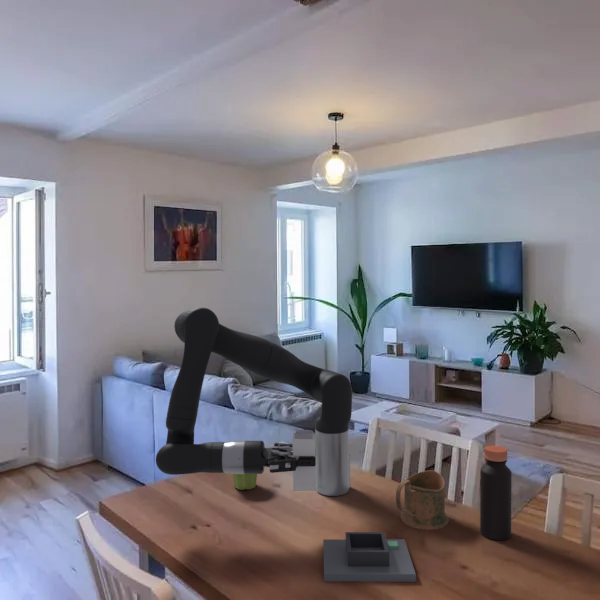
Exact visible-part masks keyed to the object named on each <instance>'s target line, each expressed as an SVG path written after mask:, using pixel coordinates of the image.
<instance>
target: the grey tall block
mask: <svg viewBox="0 0 600 600" xmlns="http://www.w3.org/2000/svg"><path fill="white" fill-rule="evenodd" d="M292 435H293V436H292V444H293V451H292V452H293V456H299V457H300V456H315V457H316V432H313V429H311V430H310V429H308V430H307V429H305V430H304V429H302V430H301V429H300V430H297V429H295V432H293V434H292ZM292 479H293V480H292V484H293V486H292V487H293V492H301V491H302V492H303V491H304V492H305V491H306V492H307V491H308V492H310V491H311V492H315V491H316V492H317V490H316V465H315V466H308V467H300V466H299V468H296V471H292Z"/></svg>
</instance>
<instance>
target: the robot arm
mask: <svg viewBox="0 0 600 600" xmlns="http://www.w3.org/2000/svg"><path fill="white" fill-rule="evenodd" d="M173 327H174V332H175V335H176V336H177V338H178V339H179V341H181V342H182V343H184V346H183V347H184V348H183V357H182V361H181V365H180V369H179V371H178V374H177V377H176V379H175V382H174V385H173V386H172V391H171V393H170V398H169V402H168V406H167V412H166V418H165V427H166V429H167V434H166V435H167V436H166V441H165V442H166V443H165V444H164V445H163V446H162V447H160V448H159V449H158V451H157V453H156V456H155V464H156V467H157V468H158V469H159V470H160V471H161V472H162V473H163V474H167V475H169V476H170V475H173V476H174V475H175V476H177V475H178V476H179V475H189V474H197V473H205V474H206V473H207V474H220V473H221V474H230V475H231V474H232V475H233V474H257V475H261V474H263V473H264V471H265V468H269V473H271V474H272V473H273V474H274V473H284V472H286V473H287V472H293V471H296V468H299V466H300V467H308V466H315V465H316V492H317V493H319V494H321V495H323V496H329V497H331V496H332V497H336V496H343V495H346V494H347V493H349V491H350V487H351V454H350V453H349V452H350V449H349V448H350V446H349V445H350V443H349V442H350V438H349V431H350V430H349V425H350V422H351V419H352V413H353V412H352V409H353V408H352V407H353V387H352V383H351V381H350V379H349V378H348V377H347V376H346V375H344V374H342V373H340V372H336V371H333V370H330V369H324V368H322V367H318V366H315V365H313V364H310V363H307V362H306V361H303V359H300V358H299V357H297V356H296V355H295V354H293V353H292V352H290V351H289V350H288V349H286V348H284V347H282V346H281V345H279V344H277V343H275V342H272V341H270V340H268V339H266V338H263V337H260V336H256V335H253V334H249V333H246V332H242V331H238V330H236V329H235V330H234V329H231V328H229V327H227V326H225V325H223V324H220V322H219V318H218V316H217V315H216V313H215V312H214V311H213V310H211V309H209V308H206V307H194V308H190V309H187V310H184V311H183V312H181V313H180V314H179V315H178V316H177V317H176V319H175V321H174V326H173ZM212 353H214V354H217V355H219V356H221V357H222V358H225V359H227V360H228V361H230V362H231V363H234V364H235V365H238V366H240V367H242V368H244V369H246V370H247V371H250V372H251V373H253V374H255V375H258V376H260V377H262V378H264V379H265V378H266V379H267V380H271V381H272V382H276V383H280V384H285V385H288V386H292V387H294V388H296V389H298V390H300V391H302V392H303V393H305V394H306V395H309V396H310V397H312V398H314V399H315V400H317V402H320V403H321V413H320V416H318V417H317V418H316V419H315V423H314V425H315V427H314V428H315V429H314V431H315V444H316V457H315V456H300V457H299V456H293V443H286V442H285V443H282V442H280V443H279V442H275V443H273V446H272V447H265V442H264V441H263V440H232V441H231V440H230V441H209V442H203V443H195V426H196V424H197V423H196V422H197V417H198V411H199V405H200V399H201V393H202V388H203V385H204V379H205V375H206V371H207V369H208V365H209V361H210V358H211V354H212Z"/></svg>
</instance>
